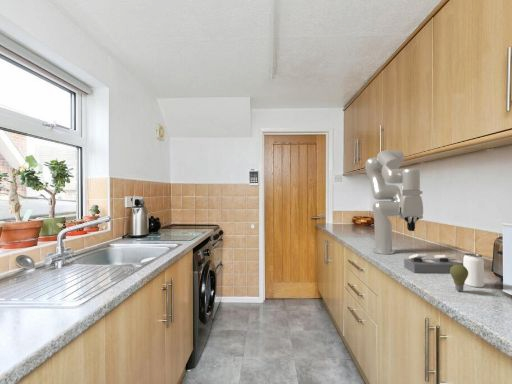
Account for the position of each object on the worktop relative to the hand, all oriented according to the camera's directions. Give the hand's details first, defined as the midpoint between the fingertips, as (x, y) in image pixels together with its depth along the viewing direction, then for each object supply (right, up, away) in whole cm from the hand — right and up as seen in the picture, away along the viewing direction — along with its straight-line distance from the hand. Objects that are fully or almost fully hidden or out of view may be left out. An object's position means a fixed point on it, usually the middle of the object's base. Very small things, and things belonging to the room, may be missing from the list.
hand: (411, 230), depth 137 cm
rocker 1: (0, -12, -5) cm, 13 cm away
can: (+10, -18, -27) cm, 34 cm away
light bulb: (0, -18, -33) cm, 38 cm away
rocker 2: (+12, -11, -6) cm, 18 cm away
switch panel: (+8, -18, -6) cm, 21 cm away
